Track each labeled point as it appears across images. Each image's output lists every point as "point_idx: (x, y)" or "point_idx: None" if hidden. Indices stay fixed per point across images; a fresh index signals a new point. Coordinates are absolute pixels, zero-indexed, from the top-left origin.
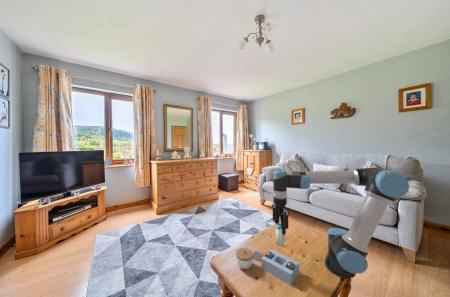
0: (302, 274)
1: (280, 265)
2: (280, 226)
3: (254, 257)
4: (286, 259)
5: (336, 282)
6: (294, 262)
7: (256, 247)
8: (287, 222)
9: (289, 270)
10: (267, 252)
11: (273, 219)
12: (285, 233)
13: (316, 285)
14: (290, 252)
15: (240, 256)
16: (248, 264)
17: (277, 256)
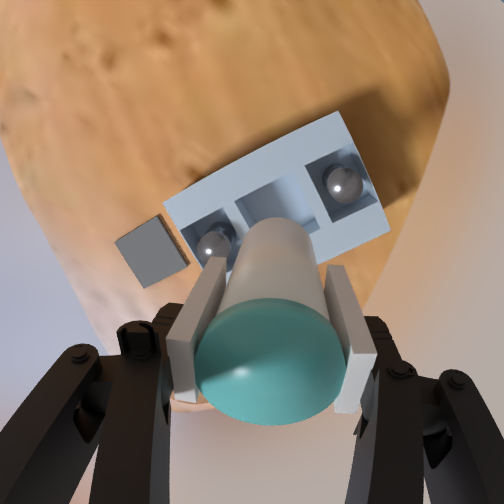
0: (340, 107)
1: (315, 239)
2: (289, 384)
3: (158, 275)
4: (283, 167)
5: (420, 13)
6: (324, 137)
7: (87, 221)
8: (500, 470)
9: (367, 217)
10: (202, 261)
11: (104, 416)
12: (384, 325)
13: (412, 103)
14: (169, 51)
15: (204, 397)
16: None
17: (234, 201)
